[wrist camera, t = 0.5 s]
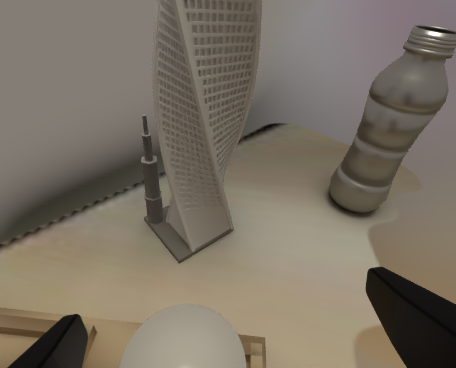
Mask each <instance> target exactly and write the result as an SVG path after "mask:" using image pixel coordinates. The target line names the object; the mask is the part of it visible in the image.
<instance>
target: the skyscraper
mask: <svg viewBox="0 0 456 368" xmlns="http://www.w3.org/2000/svg"><path fill="white" fill-rule="evenodd" d="M261 8H262V0H156V8H155V21H154V33H153V52H152V77H153V79H152V81H153V96H154V108H155V117H156V125H157V132H158V137H159V143H160V149H161V154H162V158H163V163H164V167H165V171H166V175H167V179H168V183H169V187H170V190H171V194H172V197H171V201H170V205H169V206H167V207H165V208H163V209H162V199H161V191H160V187H159V178H158V169H157V157H156V156H153V152H152V143H151V133H150V132H148V127H147V119H146V115H145V114H144V115H142V117H143V127H144V133H142V138H143V147H144V156H143V157H142V159H141V163H142V166H143V174H144V184H145V200H146V207H147V216H146V217H144V220H145V221H146V223H147V224H148V225H149V226H150V228H151V229H152V230H153V231H154V233H155V234H156V235H157V236H158V238H159V239H160V240H161V241H162V243H163V244H164V245H165V246H166V247H167V249H168V250H169V251H170V252H171V254H172V255H173V256H174V257H175V259H176V260H177V261H178V262H179V263H181V262H182V261H184V260H186V259H187V258H189V257H190V256H192V255H194V254H195V253H197V252H199V251H200V250H202V249H204V248H205V247H207V246H209V245H210V244H212V243H214V242H215V241H217V240H219V239H220V238H222V237H223V236H225V235H227V234H228V233H230V232H232V231H233V229H234V227H233V223H232V220H231V216H230V212H229V208H228V204H227V200H226V196H225V192H224V188H223V183H224V175H225V170H226V168H227V166H228V164H229V162H230V160H231V158H232V155H233V153H234V151H235V149H236V146H237V144H238V141H239V139H240V136H241V133H242V131H243V128H244V125H245V122H246V118H247V115H248V112H249V108H250V104H251V101H252V96H253V91H254V86H255V81H256V74H257V68H258V59H259V49H260V34H261V12H262V11H261V10H262V9H261Z"/></svg>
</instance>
